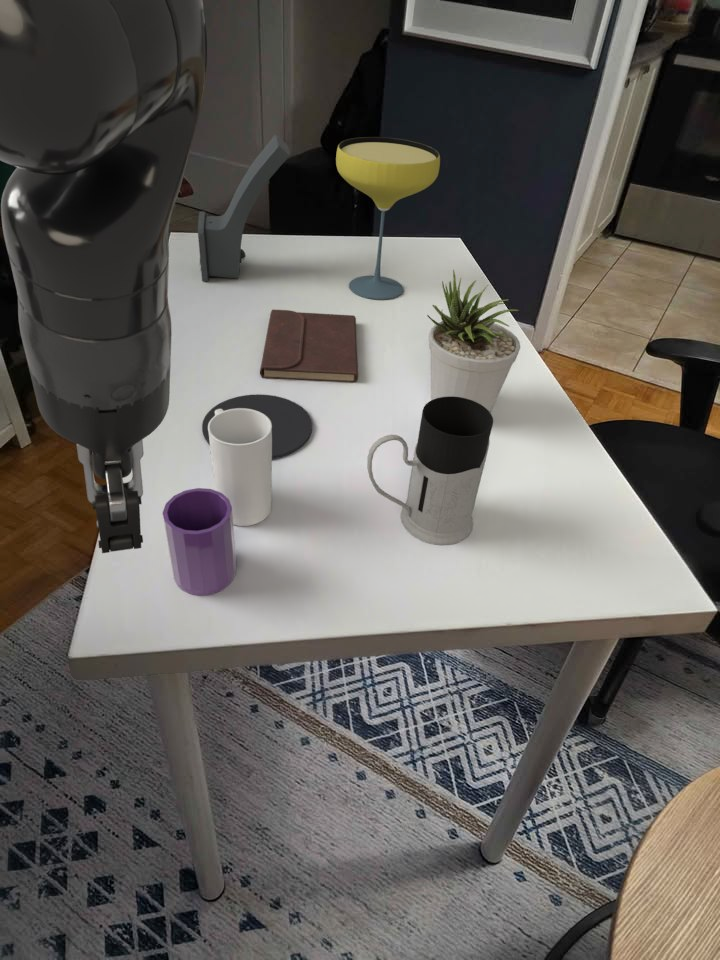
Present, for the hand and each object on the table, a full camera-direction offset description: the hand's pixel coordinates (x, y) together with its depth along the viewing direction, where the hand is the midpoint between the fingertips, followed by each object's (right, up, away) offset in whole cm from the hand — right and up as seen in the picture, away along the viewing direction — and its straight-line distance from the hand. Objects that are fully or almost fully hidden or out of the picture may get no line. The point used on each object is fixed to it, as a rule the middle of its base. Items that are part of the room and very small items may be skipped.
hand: (114, 493), depth 49 cm
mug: (+4, -2, +29) cm, 29 cm away
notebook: (+11, +23, +58) cm, 63 cm away
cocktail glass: (+22, +39, +78) cm, 90 cm away
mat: (+5, +8, +40) cm, 41 cm away
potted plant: (+34, +12, +48) cm, 60 cm away
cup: (+2, -9, +20) cm, 22 cm away
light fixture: (-4, +42, +80) cm, 91 cm away
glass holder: (+25, -4, +28) cm, 38 cm away
